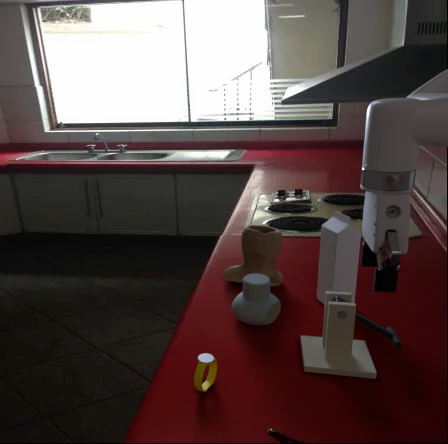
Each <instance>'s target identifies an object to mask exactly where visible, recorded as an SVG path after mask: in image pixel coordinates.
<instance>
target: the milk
mask: <svg viewBox="0 0 448 444" xmlns="http://www.w3.org/2000/svg"><path fill="white" fill-rule="evenodd" d="M351 223H352V218H351V217H350V216H348V215H346V214H344V213H342V212H339V211H337V210H334V211H333V215H332V217H331V218H329V219H328V220H327V221H326V222H324V223H323V224H321V227H320V228H321V229H320V242H319V243H320V244H319V258H318V259H319V260H318V275H317V290H316V300H318V301H319V302H320V303H322V304H323V305H324V306H325V294H326V291H335V292H351V294H352V300H351V303H356V302H355V301H356V300H355V299H356V292H357V291H356V290H357V281H358V270H359V260H360V249H361V238H362V228H359V227H357V226H355V225H353V224H351Z"/></svg>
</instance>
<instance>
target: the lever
mask: <svg viewBox="0 0 448 444" xmlns="http://www.w3.org/2000/svg"><path fill="white" fill-rule="evenodd" d="M331 302H347V301H345V300H343V299H341V298H340V297H338V296H335V297H334V298H333V300H332V301H331ZM347 303H349V302H347ZM355 321H357V322H359V323H361V324H362V325H363V326H366V327H367V328H369V329H371V330H372V331H375V332H376V333H378V334H380V335H382V336H383V337H385V338H386V339H389V340H390V342H391V344H392V345H393V346H392V347H393V348H394V349H396V350H401V349H402V348H403V346H404V345H403V343H402V341H401V339H400V337H399V335H398V333H397V331H396V329H395V327H393V326H388V327H383V326H382V325H380V324H378V323H376V322H375V321H373V320H371V319H369V318H367V317H366V316H364V315H362V314H360V313H358V312H357V311H356V313H355Z"/></svg>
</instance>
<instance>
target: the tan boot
mask: <svg viewBox="0 0 448 444" xmlns="http://www.w3.org/2000/svg"><path fill="white" fill-rule="evenodd" d="M240 246H241V251H242V263H241V264H238V265H230V266H228V267H227V268H225V269H224V271H223V273H222V275H221V281H225V282H231V283H238V284H243V278H244V277H245V276H246V275H249V274H263V275H266V276H267V277H269V278H270V281H271V283H270V287H278V286H280V285H281V284H282V283H283V281H284V275H283V274H282V273H281V272H280V271H278V270H276V263H277V260H278V258H279V256H280V253H281V250H282V246H283V233H282V231H281V230H279V229H278V228H276V227H274V226H268V225H267V226H266V225H260V224H252V225H246V226H245V227H244V228H243V229H242V232H241V234H240Z"/></svg>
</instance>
